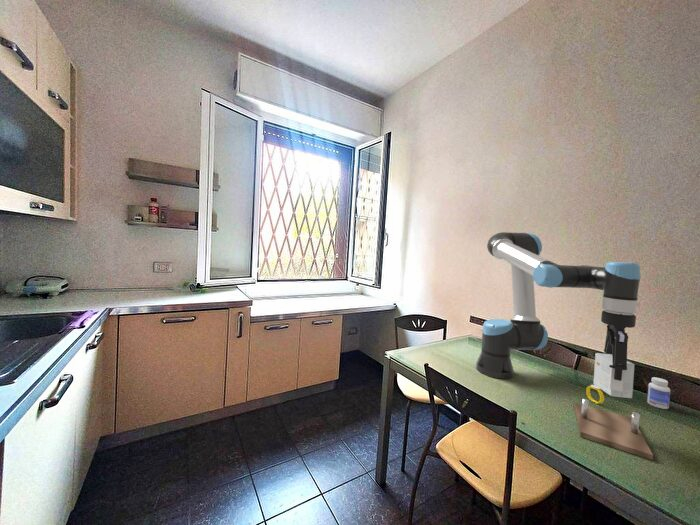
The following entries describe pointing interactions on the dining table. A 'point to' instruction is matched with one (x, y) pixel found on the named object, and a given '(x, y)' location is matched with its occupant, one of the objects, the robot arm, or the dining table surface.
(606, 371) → the small box
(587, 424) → the pin tray
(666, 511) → the dining table surface
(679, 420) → the dining table surface
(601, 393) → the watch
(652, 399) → the pill bottle
